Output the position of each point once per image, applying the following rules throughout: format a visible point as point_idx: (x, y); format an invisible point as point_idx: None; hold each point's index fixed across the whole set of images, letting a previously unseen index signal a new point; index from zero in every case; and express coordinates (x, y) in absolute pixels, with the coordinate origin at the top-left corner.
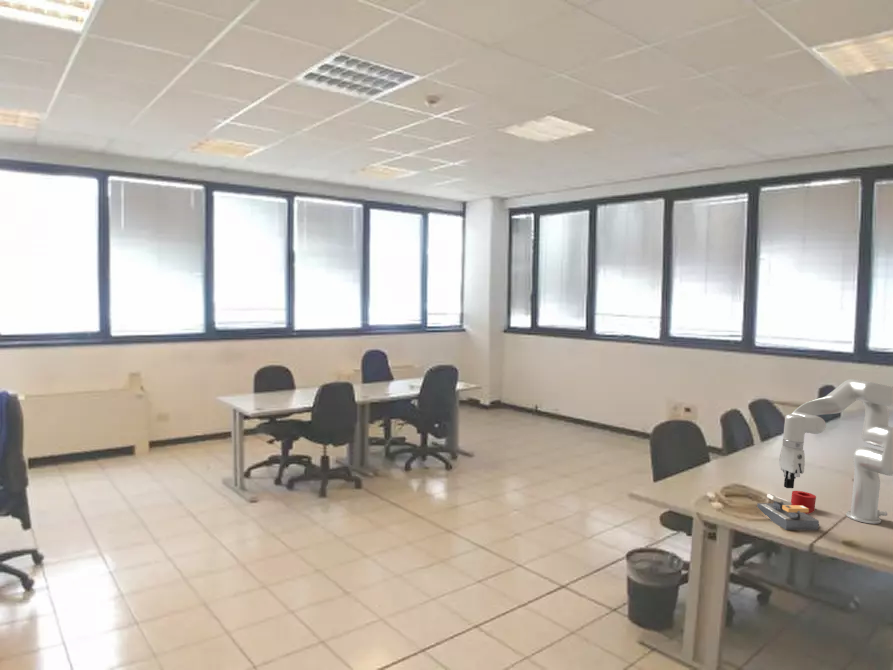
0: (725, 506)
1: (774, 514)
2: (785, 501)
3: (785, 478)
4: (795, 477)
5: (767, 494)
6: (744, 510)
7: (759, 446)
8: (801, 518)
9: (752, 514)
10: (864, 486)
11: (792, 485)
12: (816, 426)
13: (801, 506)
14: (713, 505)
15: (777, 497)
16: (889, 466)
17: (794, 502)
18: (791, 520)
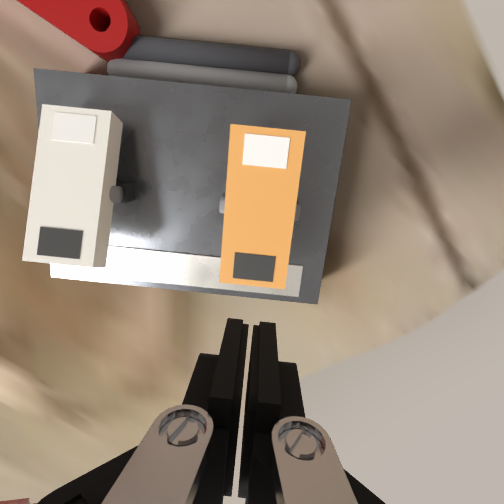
0: (18, 359)
1: (211, 290)
2: (108, 164)
3: (222, 500)
4: (373, 500)
5: (29, 260)
6: (63, 306)
7: None
8: (302, 192)
9: (115, 304)
10: None
11: (295, 375)
12: None
13: (256, 156)
14: (12, 401)
15: (79, 218)
16: None
17: None
18: (321, 278)
